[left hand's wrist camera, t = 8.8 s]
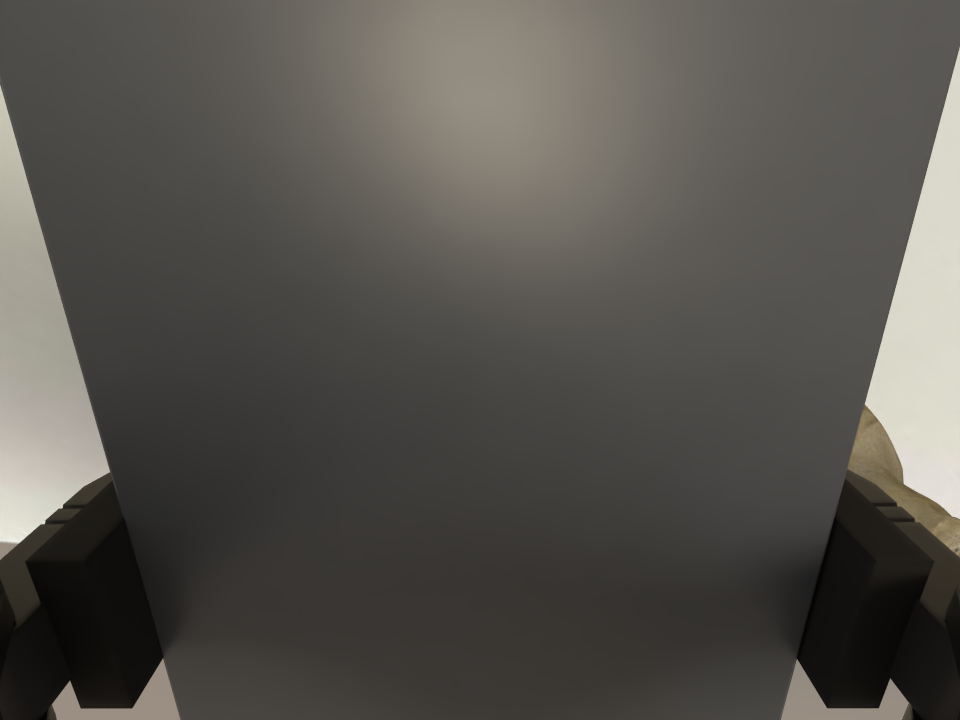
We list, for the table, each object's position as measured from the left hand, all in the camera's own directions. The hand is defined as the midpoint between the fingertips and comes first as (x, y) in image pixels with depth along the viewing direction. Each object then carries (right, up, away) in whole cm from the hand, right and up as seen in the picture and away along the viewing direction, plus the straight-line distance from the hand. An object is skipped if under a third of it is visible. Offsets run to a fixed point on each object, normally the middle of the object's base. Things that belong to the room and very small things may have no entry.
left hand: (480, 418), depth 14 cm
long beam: (0, +30, -11) cm, 32 cm away
